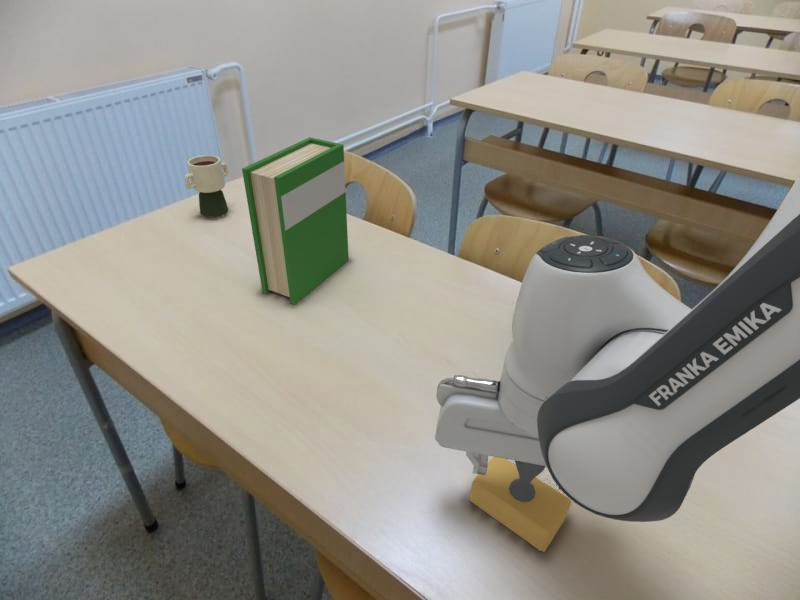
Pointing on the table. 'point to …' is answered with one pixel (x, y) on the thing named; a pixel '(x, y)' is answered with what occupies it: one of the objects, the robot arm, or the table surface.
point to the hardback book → (298, 216)
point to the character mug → (208, 183)
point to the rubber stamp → (521, 500)
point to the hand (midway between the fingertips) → (521, 477)
